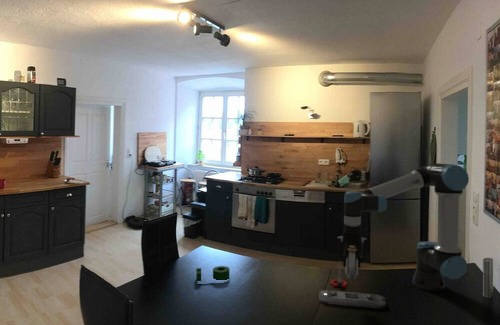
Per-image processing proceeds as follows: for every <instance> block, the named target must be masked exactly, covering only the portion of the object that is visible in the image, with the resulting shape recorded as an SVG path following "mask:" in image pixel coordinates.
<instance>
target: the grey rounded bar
mask: <svg viewBox="0 0 500 325" xmlns="http://www.w3.org/2000/svg"><path fill="white" fill-rule="evenodd" d="M318 300H319V302H321V303H322V304H326V305H339V306H348V307H359V308H371V309H384V308H385V307H386V298H385V297H384V296H383V295H380V294H375V293H362V292H352V291H351V292H350V291H340V290H327V289H325V290H324V289H323V290H321V291H319V292H318Z"/></svg>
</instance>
